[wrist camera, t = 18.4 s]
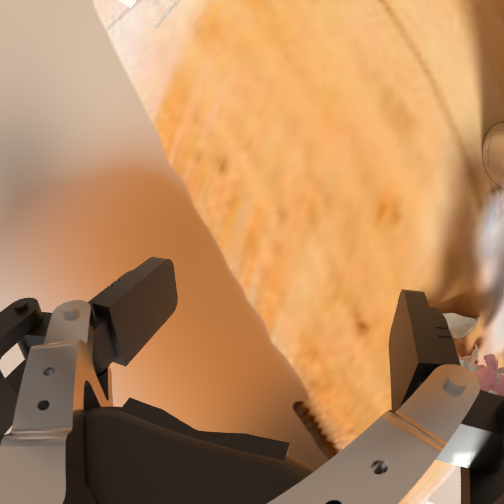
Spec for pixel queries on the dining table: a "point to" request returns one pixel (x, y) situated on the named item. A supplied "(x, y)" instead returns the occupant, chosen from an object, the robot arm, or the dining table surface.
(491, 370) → the flower
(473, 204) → the dining table surface
